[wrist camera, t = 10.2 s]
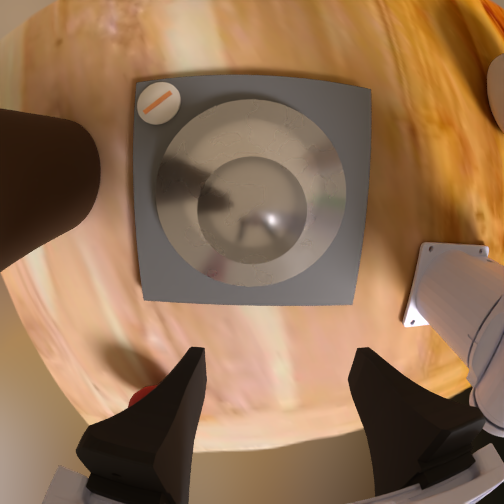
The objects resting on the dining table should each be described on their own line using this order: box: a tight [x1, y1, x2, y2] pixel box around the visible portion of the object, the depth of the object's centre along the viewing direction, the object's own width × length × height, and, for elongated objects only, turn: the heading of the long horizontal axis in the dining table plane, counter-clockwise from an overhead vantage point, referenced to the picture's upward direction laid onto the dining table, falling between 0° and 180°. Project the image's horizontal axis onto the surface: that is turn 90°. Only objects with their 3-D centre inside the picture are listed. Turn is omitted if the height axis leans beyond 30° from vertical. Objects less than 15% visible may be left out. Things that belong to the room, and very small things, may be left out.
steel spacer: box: [197, 156, 307, 264], centre depth 14 cm, size 4×4×6 cm
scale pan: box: [156, 99, 346, 287], centre depth 17 cm, size 12×12×1 cm
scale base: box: [133, 75, 371, 306], centre depth 18 cm, size 16×16×2 cm
